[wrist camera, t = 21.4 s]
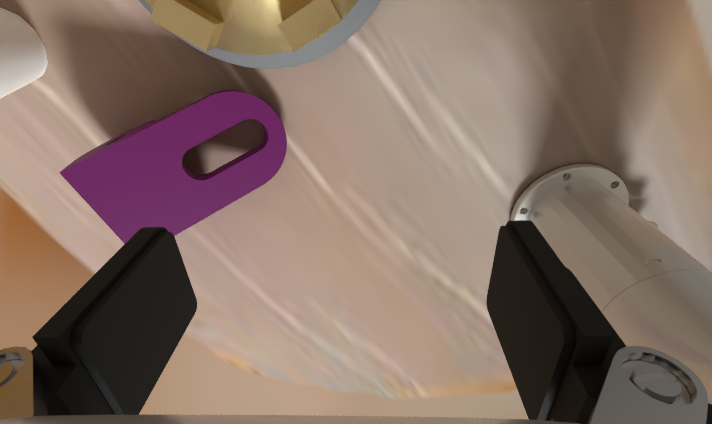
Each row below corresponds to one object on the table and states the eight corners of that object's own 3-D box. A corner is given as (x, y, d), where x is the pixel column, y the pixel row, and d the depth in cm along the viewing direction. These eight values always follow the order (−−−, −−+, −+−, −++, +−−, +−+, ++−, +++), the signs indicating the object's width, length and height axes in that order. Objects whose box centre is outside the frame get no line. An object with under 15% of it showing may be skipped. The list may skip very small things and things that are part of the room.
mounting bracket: (243, 72, 40) (83, 152, 37) (255, 73, 33) (58, 172, 30) (284, 148, 45) (145, 225, 41) (303, 162, 38) (136, 257, 34)
